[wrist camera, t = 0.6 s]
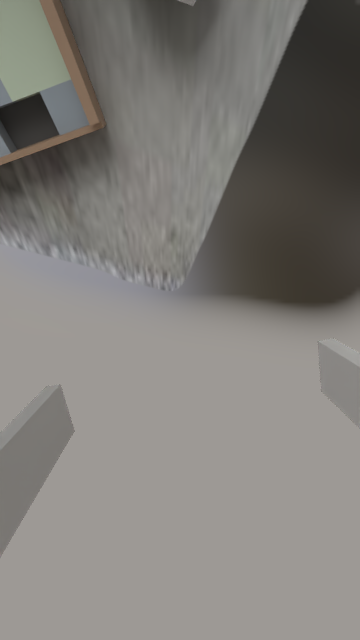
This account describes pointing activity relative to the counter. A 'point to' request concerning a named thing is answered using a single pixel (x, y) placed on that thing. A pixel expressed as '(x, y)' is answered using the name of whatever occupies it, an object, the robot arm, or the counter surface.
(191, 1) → the die
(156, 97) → the counter surface
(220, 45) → the counter surface
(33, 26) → the box
